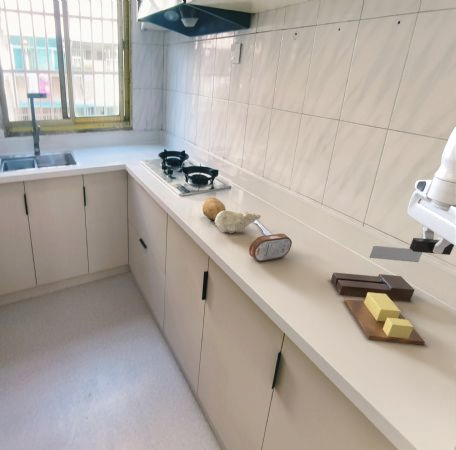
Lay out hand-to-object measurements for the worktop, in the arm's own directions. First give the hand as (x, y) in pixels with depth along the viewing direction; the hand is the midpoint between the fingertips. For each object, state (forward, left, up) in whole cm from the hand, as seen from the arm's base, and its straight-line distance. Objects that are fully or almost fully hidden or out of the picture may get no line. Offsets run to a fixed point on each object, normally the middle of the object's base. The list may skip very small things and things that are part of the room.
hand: (431, 249), depth 79 cm
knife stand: (+4, -10, -19) cm, 22 cm away
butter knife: (+29, -53, -19) cm, 63 cm away
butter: (+7, +2, -18) cm, 19 cm away
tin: (+30, -24, -19) cm, 43 cm away
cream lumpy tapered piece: (+39, -45, -19) cm, 62 cm away
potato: (+47, -55, -19) cm, 75 cm away
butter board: (+8, +4, -19) cm, 21 cm away
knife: (+5, 0, -4) cm, 6 cm away
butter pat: (+7, +9, -18) cm, 22 cm away
